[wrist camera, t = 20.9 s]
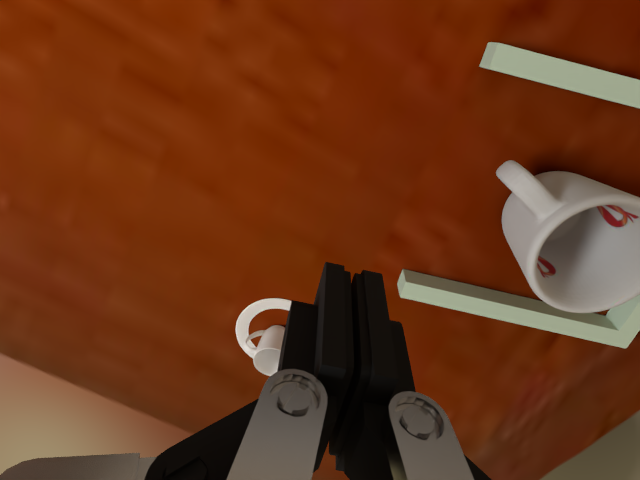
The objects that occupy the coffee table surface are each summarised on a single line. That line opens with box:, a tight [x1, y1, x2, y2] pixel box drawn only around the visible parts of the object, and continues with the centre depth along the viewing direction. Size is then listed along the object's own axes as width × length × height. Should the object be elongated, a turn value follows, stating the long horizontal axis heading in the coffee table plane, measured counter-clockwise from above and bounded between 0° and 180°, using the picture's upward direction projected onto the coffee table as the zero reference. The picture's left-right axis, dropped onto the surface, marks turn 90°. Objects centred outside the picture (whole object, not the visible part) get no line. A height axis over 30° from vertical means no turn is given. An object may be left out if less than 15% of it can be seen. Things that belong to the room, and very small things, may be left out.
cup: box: [496, 160, 640, 313], centre depth 28 cm, size 11×8×8 cm
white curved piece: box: [236, 298, 292, 376], centre depth 37 cm, size 9×8×4 cm
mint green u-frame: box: [397, 42, 640, 348], centre depth 30 cm, size 19×20×3 cm
